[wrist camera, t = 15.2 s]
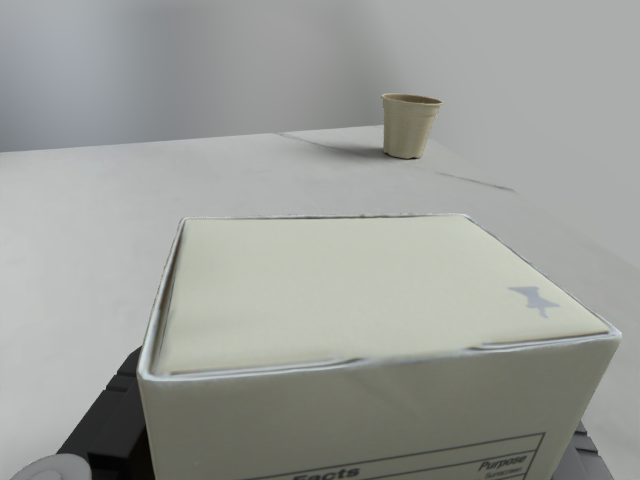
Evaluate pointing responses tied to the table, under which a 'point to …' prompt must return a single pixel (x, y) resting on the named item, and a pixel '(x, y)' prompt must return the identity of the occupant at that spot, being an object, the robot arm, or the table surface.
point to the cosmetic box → (362, 352)
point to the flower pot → (408, 123)
